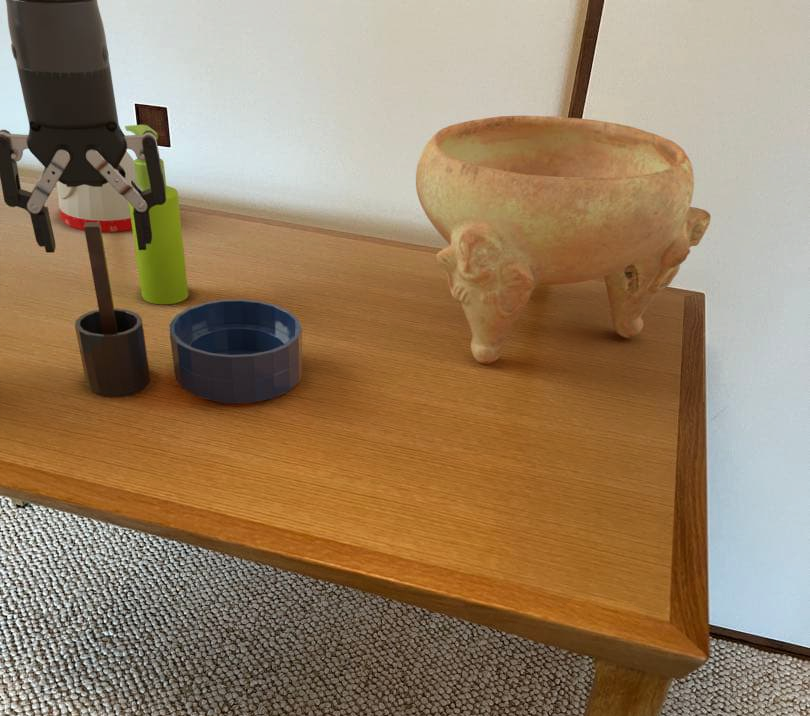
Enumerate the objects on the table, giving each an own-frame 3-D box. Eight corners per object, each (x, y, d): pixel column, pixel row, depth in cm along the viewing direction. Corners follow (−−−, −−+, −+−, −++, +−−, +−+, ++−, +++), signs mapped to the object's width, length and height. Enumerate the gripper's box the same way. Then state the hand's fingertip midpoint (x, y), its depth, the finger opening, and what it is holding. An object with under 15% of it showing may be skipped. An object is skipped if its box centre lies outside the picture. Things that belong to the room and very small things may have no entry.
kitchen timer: (132, 197, 135) (118, 96, 125) (169, 223, 127) (157, 117, 117) (47, 209, 128) (26, 103, 118) (81, 237, 120) (61, 126, 110)
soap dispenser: (173, 280, 111) (155, 119, 98) (195, 299, 106) (179, 133, 94) (131, 288, 108) (107, 123, 95) (153, 308, 104) (130, 138, 91)
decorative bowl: (589, 266, 126) (625, 101, 111) (709, 376, 100) (777, 180, 85) (374, 273, 117) (383, 96, 103) (445, 395, 92) (470, 182, 77)
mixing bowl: (177, 411, 85) (170, 359, 81) (174, 349, 95) (168, 301, 92) (310, 404, 88) (309, 353, 84) (293, 344, 99) (292, 297, 95)
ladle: (98, 387, 87) (68, 232, 76) (99, 369, 90) (71, 217, 79) (137, 385, 88) (113, 231, 77) (137, 368, 91) (114, 217, 80)
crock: (85, 398, 86) (72, 337, 81) (88, 368, 91) (77, 309, 86) (150, 395, 87) (141, 334, 83) (150, 365, 92) (141, 307, 88)
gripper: (149, 53, 74) (171, 233, 84) (-21, 48, 70) (23, 236, 81) (149, 70, 68) (172, 261, 78) (-36, 66, 65) (14, 265, 75)
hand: (97, 248), depth 80 cm, fingers open, 8 cm apart
